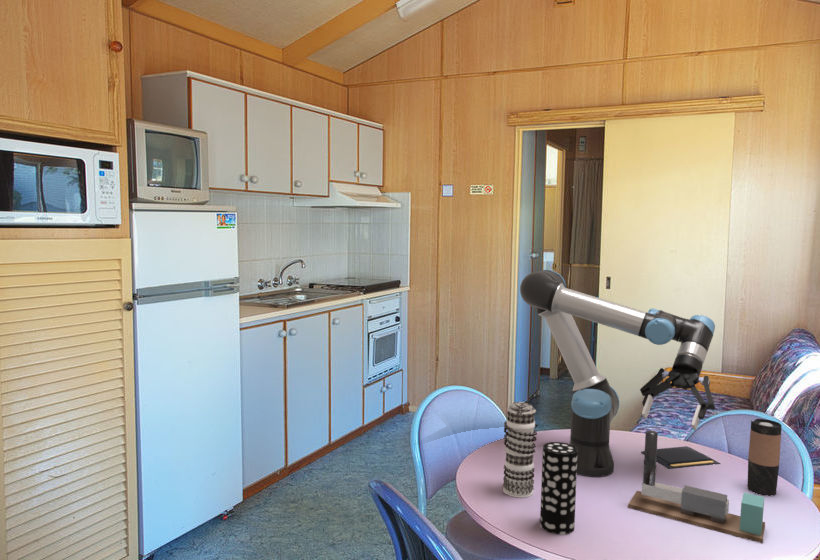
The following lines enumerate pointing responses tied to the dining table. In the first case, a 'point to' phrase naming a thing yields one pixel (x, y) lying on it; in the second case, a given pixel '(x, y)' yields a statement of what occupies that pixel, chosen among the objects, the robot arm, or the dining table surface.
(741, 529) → the socket
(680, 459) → the black book
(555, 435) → the dining table surface
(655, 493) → the grey two-tone fixture
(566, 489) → the white-spotted black cylinder
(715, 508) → the grey notched block
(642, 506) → the base board
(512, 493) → the decorative candle
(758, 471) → the travel mug
